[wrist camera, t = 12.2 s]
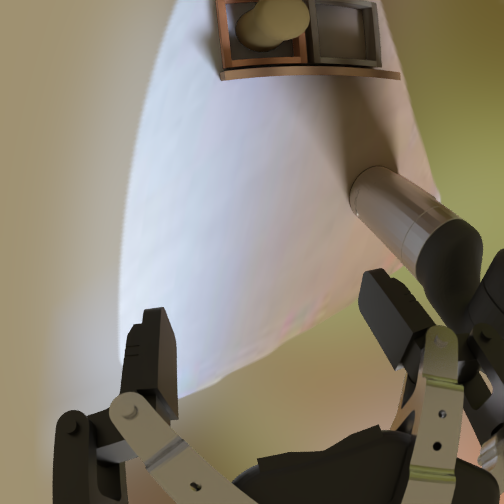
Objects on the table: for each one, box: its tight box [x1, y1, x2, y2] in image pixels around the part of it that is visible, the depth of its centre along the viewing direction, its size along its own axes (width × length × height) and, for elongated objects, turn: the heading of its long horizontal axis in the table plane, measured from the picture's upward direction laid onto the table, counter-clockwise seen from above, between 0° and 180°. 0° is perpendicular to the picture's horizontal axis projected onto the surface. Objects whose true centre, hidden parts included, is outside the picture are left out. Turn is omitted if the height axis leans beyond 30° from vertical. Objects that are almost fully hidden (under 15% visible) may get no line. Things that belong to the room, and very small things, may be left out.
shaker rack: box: [215, 0, 400, 81], centre depth 26 cm, size 21×11×6 cm, turn 95°
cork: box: [236, 0, 310, 52], centre depth 23 cm, size 6×6×11 cm
